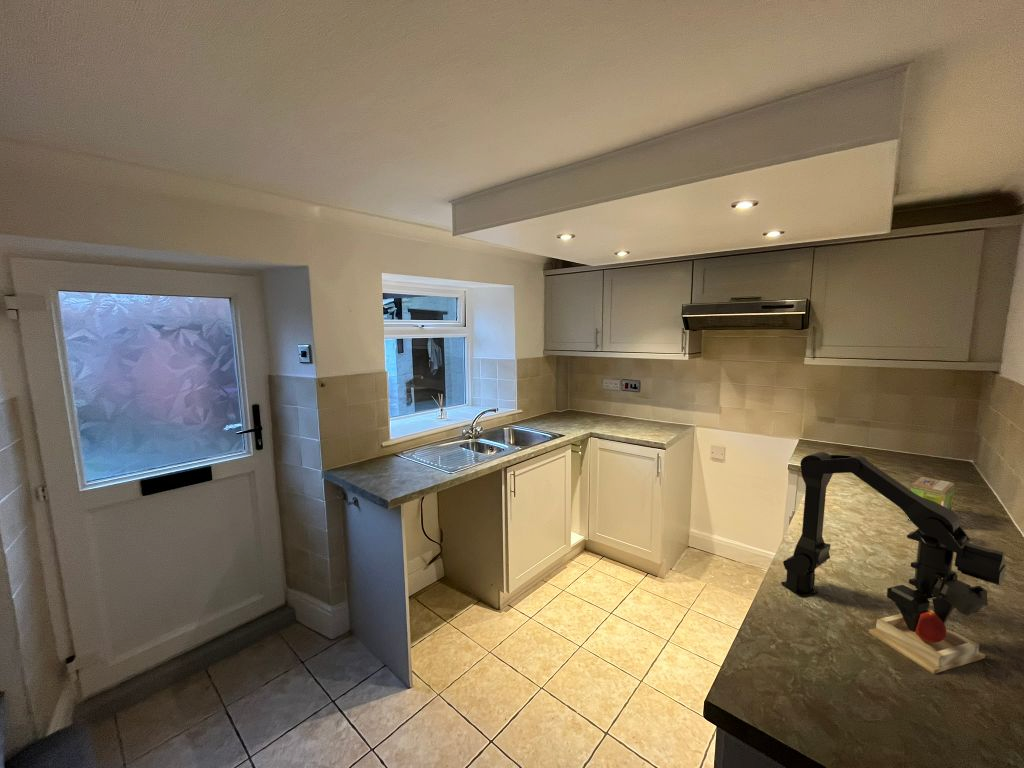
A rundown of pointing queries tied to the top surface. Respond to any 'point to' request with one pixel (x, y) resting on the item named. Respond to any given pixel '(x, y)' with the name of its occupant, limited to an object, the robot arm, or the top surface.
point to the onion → (930, 627)
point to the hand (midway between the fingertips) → (926, 626)
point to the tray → (926, 645)
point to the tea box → (934, 490)
